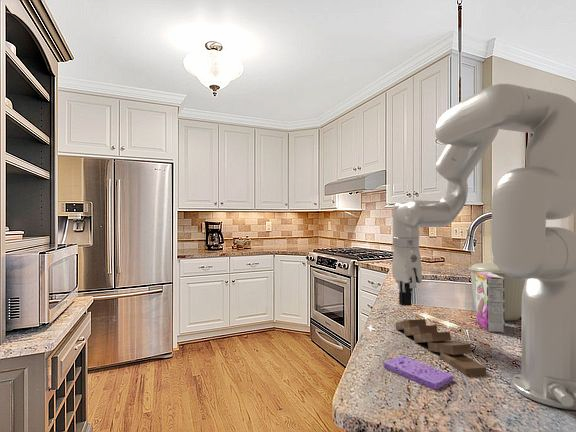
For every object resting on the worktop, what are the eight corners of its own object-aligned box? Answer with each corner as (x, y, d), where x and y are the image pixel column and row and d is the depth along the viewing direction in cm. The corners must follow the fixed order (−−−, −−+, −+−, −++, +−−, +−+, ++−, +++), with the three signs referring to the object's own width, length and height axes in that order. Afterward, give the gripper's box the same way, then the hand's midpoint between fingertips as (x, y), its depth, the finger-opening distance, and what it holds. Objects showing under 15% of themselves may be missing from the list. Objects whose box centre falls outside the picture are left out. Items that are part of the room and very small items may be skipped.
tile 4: (421, 335, 100) (437, 333, 92) (404, 335, 100) (420, 333, 91) (419, 327, 101) (436, 325, 93) (403, 328, 100) (418, 325, 92)
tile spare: (459, 360, 84) (486, 377, 75) (440, 361, 83) (465, 378, 74) (459, 352, 84) (486, 367, 75) (440, 353, 83) (465, 368, 74)
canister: (494, 308, 132) (494, 252, 132) (543, 322, 115) (543, 257, 115) (456, 312, 126) (456, 253, 126) (501, 327, 109) (501, 259, 109)
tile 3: (431, 341, 95) (451, 340, 87) (414, 342, 94) (433, 341, 86) (430, 334, 96) (449, 331, 87) (413, 334, 95) (431, 332, 87)
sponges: (402, 362, 82) (402, 354, 82) (454, 383, 72) (454, 374, 72) (382, 370, 78) (382, 361, 78) (435, 392, 68) (435, 383, 68)
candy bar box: (474, 321, 115) (474, 271, 115) (491, 322, 114) (491, 272, 114) (486, 332, 104) (486, 276, 104) (505, 333, 103) (505, 277, 103)
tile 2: (445, 349, 89) (471, 353, 81) (428, 350, 88) (453, 354, 80) (444, 340, 90) (470, 344, 82) (427, 342, 89) (452, 345, 80)
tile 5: (411, 329, 106) (426, 326, 98) (396, 329, 105) (409, 327, 97) (410, 322, 107) (425, 319, 98) (395, 322, 106) (408, 319, 98)
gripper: (431, 245, 98) (430, 311, 98) (405, 242, 113) (405, 299, 113) (406, 245, 97) (405, 311, 97) (383, 242, 112) (383, 299, 111)
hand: (405, 304), depth 105 cm, fingers closed
